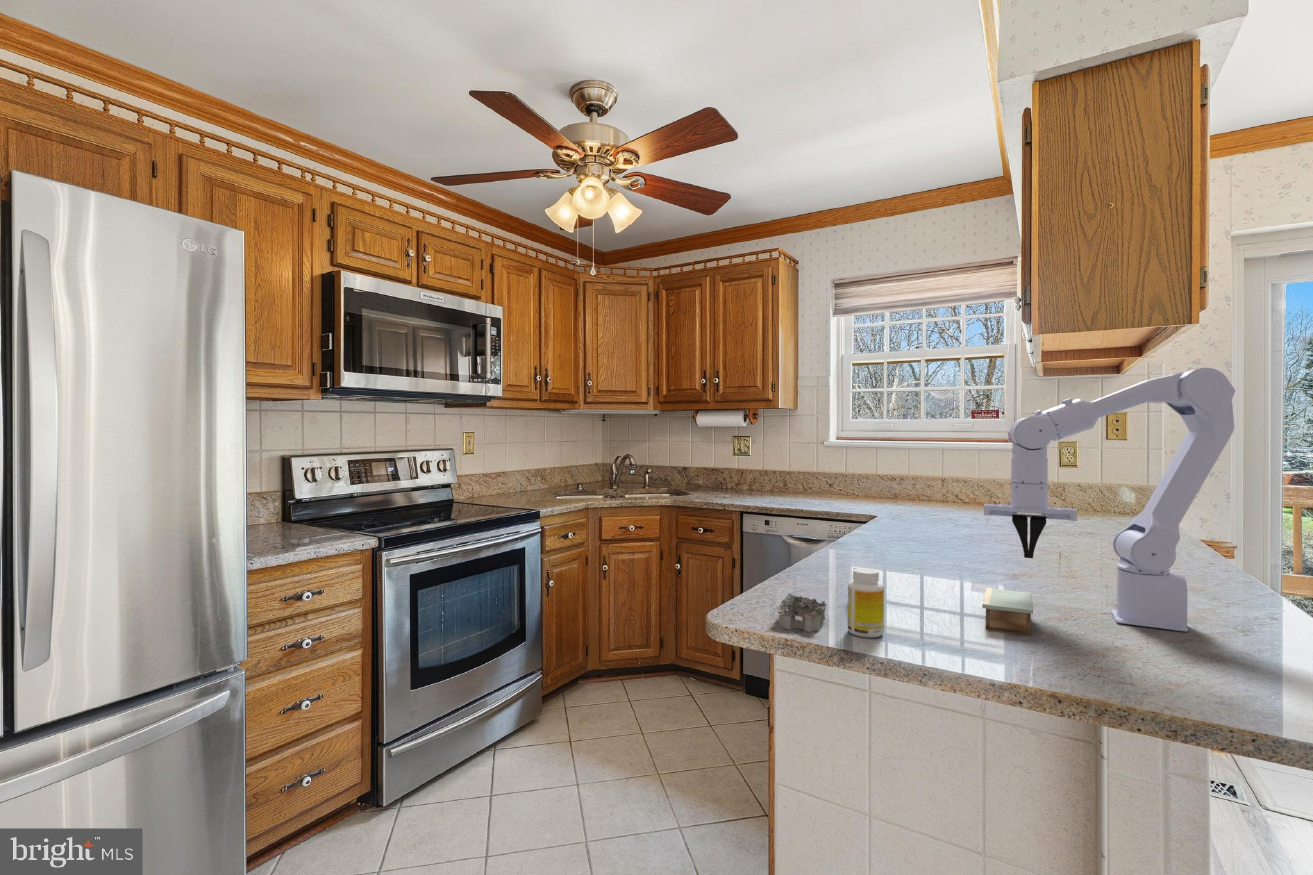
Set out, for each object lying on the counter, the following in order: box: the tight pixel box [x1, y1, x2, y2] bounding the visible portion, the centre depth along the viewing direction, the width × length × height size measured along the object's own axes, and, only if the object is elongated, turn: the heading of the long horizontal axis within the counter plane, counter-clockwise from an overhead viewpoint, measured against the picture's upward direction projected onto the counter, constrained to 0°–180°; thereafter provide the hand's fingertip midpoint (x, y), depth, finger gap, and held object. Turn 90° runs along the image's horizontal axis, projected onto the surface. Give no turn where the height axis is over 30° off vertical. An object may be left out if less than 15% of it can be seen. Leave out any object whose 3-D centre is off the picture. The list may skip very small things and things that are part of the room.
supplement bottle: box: [847, 567, 885, 639], centre depth 101 cm, size 6×6×10 cm
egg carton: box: [775, 593, 827, 633], centre depth 107 cm, size 11×8×4 cm
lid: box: [982, 587, 1034, 615], centre depth 106 cm, size 7×12×1 cm, turn 150°
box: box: [985, 608, 1032, 637], centre depth 106 cm, size 6×12×4 cm, turn 150°
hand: (1028, 557), depth 113 cm, fingers closed
